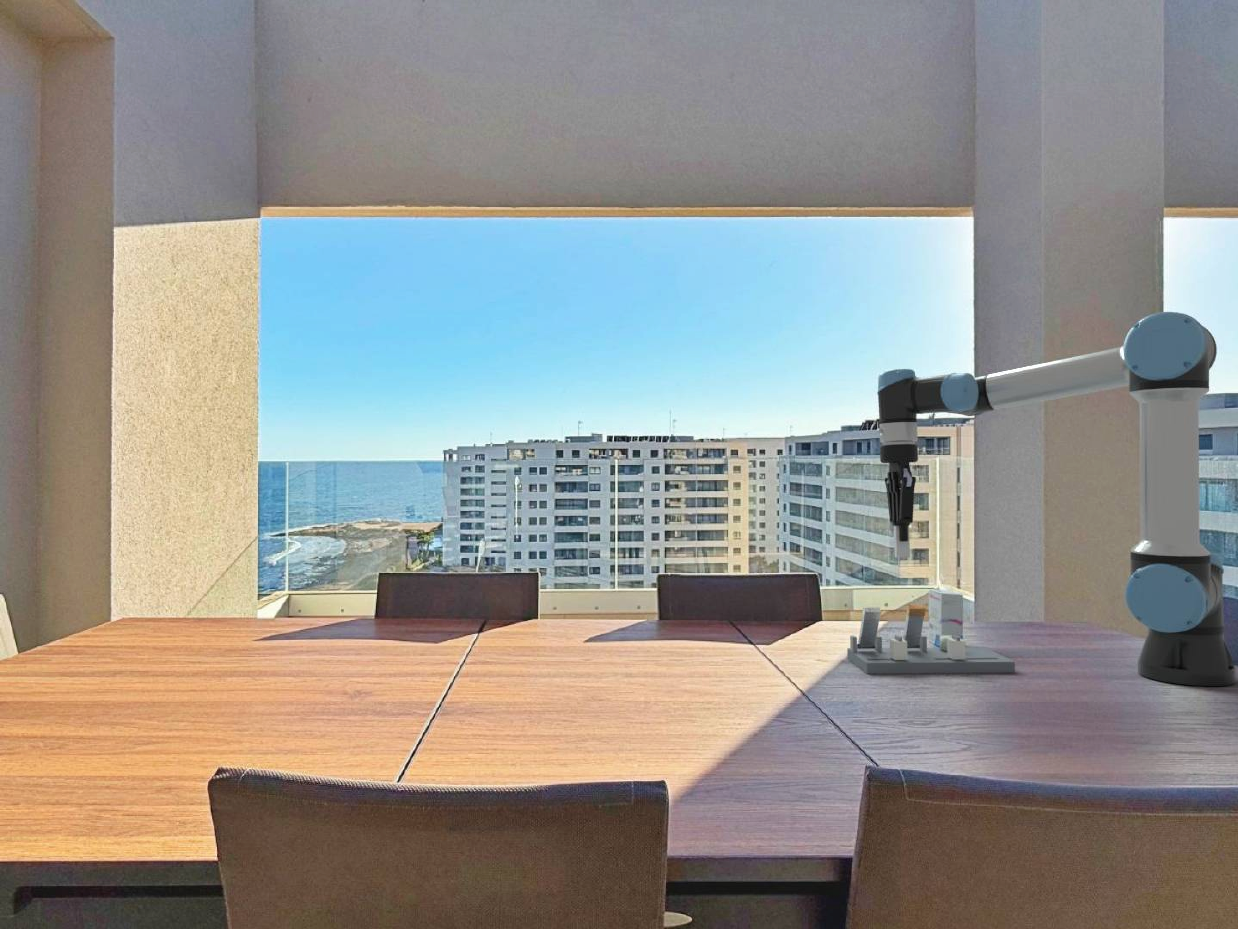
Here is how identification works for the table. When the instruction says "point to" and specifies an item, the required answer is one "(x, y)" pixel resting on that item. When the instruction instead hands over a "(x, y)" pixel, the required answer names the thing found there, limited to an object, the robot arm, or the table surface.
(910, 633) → the toggle
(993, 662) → the panel
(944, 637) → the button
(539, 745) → the table surface
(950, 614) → the ink box
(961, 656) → the slider
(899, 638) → the slider
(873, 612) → the toggle
